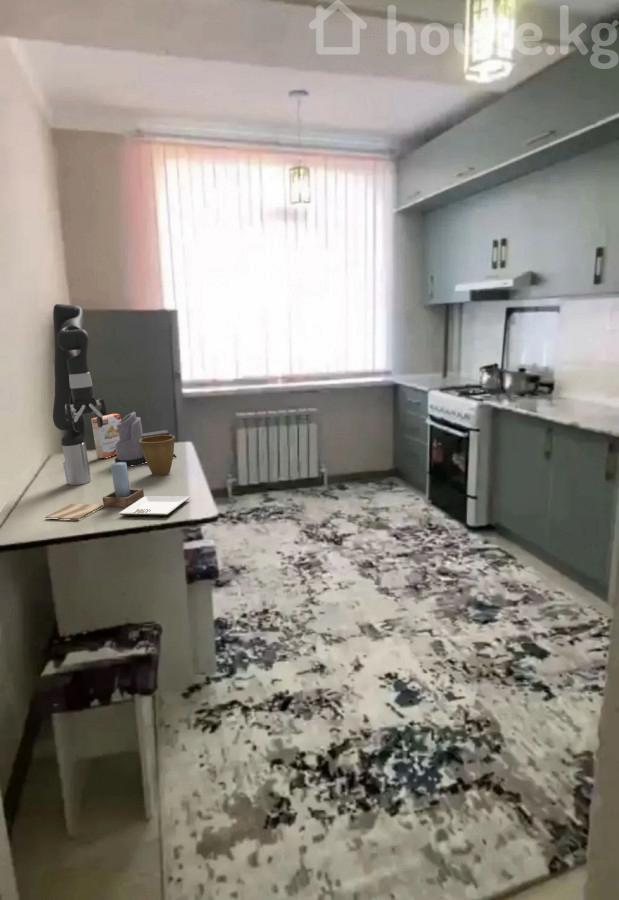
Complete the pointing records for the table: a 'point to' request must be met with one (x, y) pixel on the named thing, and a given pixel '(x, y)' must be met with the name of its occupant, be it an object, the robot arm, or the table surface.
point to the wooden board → (74, 511)
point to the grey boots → (132, 440)
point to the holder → (121, 501)
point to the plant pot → (158, 453)
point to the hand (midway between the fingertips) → (89, 429)
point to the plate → (155, 505)
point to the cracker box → (106, 435)
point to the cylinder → (120, 479)
